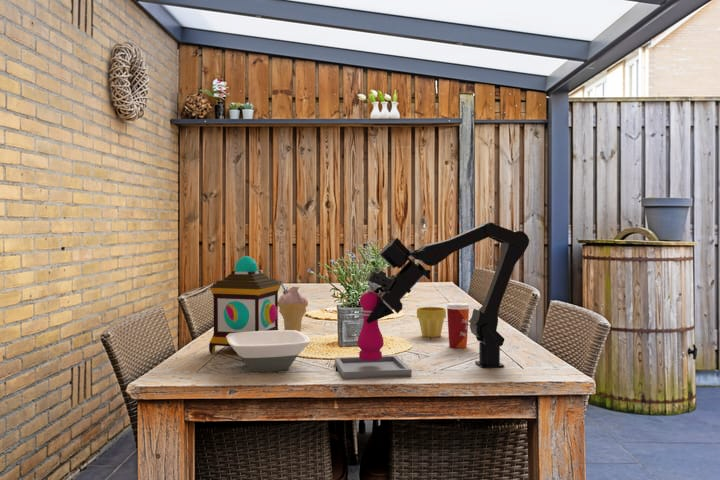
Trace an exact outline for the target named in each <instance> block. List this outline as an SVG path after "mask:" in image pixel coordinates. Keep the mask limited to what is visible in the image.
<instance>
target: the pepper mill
mask: <svg viewBox="0 0 720 480" xmlns="http://www.w3.org/2000/svg"><path fill="white" fill-rule="evenodd" d="M374 288H375V287H373V286H371V285H370V286H368V287H367V291H366V292H364V293H362V294H361V296H360V298H359V305H360V306H361V308H362V309H361V315H362V319H363V320H362V328H361V330H360V332H359V334H358V338H357V346H358V348H359V349H360V350H359V354H358V355H359V356H358V357H359V358H360V359H361V360H367V361H375V360H380V359H381V358H382V356H383V352H382V351H381V349H382V348H383V347H384V338H383V335H382V332H381V330H380V327H379V319H378V320H376V321H373V322H371V323H367V322H366V320H367V318H368V317H369V315H370V314H371V312H372V311H373V309H374V308H375V307H376V305H377V297H379V298H380V299H381V297H380V296H379V295H378V294H377V293H375V292H373V291H374Z"/></svg>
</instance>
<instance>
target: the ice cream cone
mask: <svg viewBox="0 0 720 480" xmlns="http://www.w3.org/2000/svg"><path fill="white" fill-rule="evenodd" d="M278 282H279V283H280V284H281V286H280V287H282V290H283V292H282V295H280V296H279V298H278V313H279V314H280V315H281V317H282V319H283V325H284V326H283V327H284V330H296V331H299V332H301V330H302V321H303V317H304V316H305V314H306V312H307V309H306V308H307V307H308V306H309V302H308V300H307V296H306V295H302V293H300V292H299V291H298V290H299V289H300V286H292V287H290V288H289V286H287V287H285V285H284V284H283V283H282V281H281V280H278ZM288 288H289V289H288Z"/></svg>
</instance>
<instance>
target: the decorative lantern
mask: <svg viewBox="0 0 720 480" xmlns="http://www.w3.org/2000/svg"><path fill="white" fill-rule="evenodd" d="M281 287H282V286H281V284H280V282H279V280H276V279H275V278H273V277H269V276H268V275H265V273H263V272H262V271H261V270H259V269H258V263H257V261H255V259H254V258H252V257H251V256H248V255H244V256H242V257H240V258H239V259H238V261H236V262H235V267H234V270H233V271H231V273H230V274H228V275H227V276H226V277H224V278H223V279H220V280H217V281H216V282H215V283H212V285H211V286H210V287H209V290H210V292H211V294H212V297H213V333H212V337H211V339H210V341H209V344H208V349H209V351H208V352H209V353H210V355H213V354H215V351H216V346H218V347H231V346H230V344H229V343H228V341H227V338H226V336H227V335H228V334H229V333H238V332H252V331H273V330H279V324H278V323H279V314H278V313H279V306H278V301H279V298H278V297H279V296H278V294H279V293H278V292H279V290H280V288H281Z"/></svg>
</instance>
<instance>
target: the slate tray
mask: <svg viewBox="0 0 720 480" xmlns="http://www.w3.org/2000/svg"><path fill="white" fill-rule="evenodd" d="M334 365H335V367H336V369H337V370H338V372H339V373H340V375H341V377H342V379H343V380H352V379H376V378H377V379H378V378H399V377H400V378H406V377H412V374H413V373H412V371H413V370H412V368H410V366H408V365H407V364H406V362H404V361H403V360H402V359H401V358H399V357H398V355H382V358H381V359H380V360H375V361H367V360H361V359H360V358H359V356H343V357H341V356H340V357H334Z"/></svg>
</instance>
